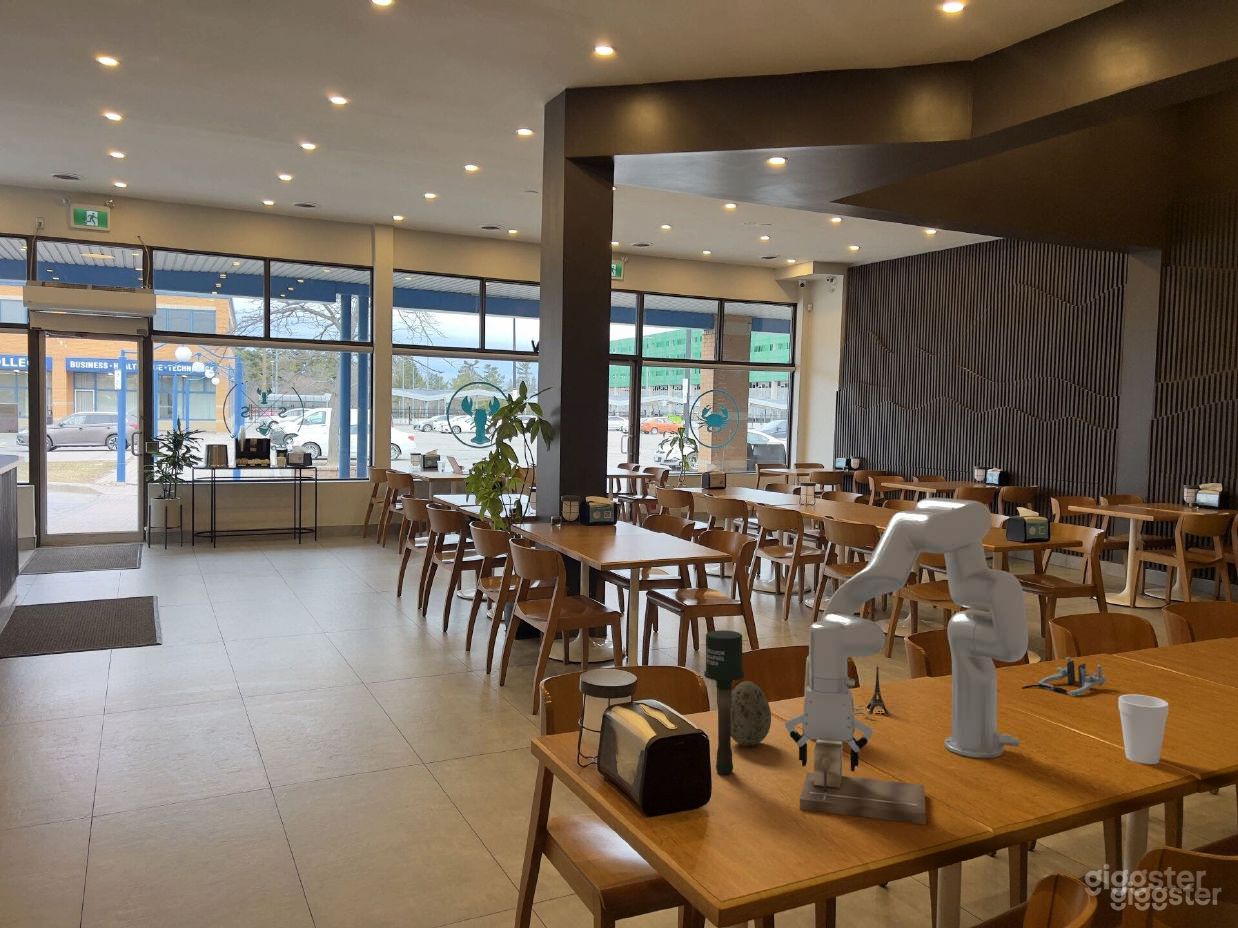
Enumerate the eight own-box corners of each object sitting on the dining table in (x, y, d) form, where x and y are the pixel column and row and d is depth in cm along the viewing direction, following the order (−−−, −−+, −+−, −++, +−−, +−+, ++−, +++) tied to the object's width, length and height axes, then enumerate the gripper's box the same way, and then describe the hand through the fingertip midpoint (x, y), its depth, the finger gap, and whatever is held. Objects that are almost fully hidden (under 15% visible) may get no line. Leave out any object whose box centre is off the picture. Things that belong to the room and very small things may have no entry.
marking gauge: (842, 780, 182) (842, 738, 182) (838, 805, 170) (838, 760, 170) (817, 777, 184) (817, 736, 183) (811, 802, 172) (811, 758, 171)
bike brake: (1065, 675, 258) (1022, 696, 248) (1063, 653, 257) (1020, 673, 247) (1111, 687, 246) (1067, 709, 236) (1109, 664, 245) (1065, 685, 235)
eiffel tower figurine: (876, 702, 238) (876, 653, 237) (909, 711, 230) (910, 661, 229) (842, 713, 228) (842, 663, 228) (875, 723, 220) (875, 671, 220)
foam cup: (1150, 769, 188) (1151, 709, 187) (1109, 755, 196) (1109, 698, 196) (1176, 761, 192) (1177, 702, 192) (1135, 748, 200) (1135, 692, 200)
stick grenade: (701, 765, 192) (700, 630, 191) (739, 764, 193) (739, 628, 192) (708, 780, 184) (707, 639, 183) (748, 779, 185) (748, 638, 184)
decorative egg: (736, 755, 198) (735, 689, 198) (717, 739, 209) (717, 677, 208) (779, 750, 201) (779, 685, 201) (758, 734, 212) (758, 673, 211)
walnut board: (923, 794, 176) (923, 784, 176) (925, 824, 163) (925, 813, 163) (807, 781, 183) (807, 771, 183) (799, 809, 170) (799, 798, 170)
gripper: (873, 681, 179) (873, 764, 179) (787, 675, 184) (787, 755, 185) (872, 691, 172) (872, 778, 172) (782, 685, 177) (783, 768, 177)
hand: (828, 766), depth 178 cm, fingers open, 9 cm apart
